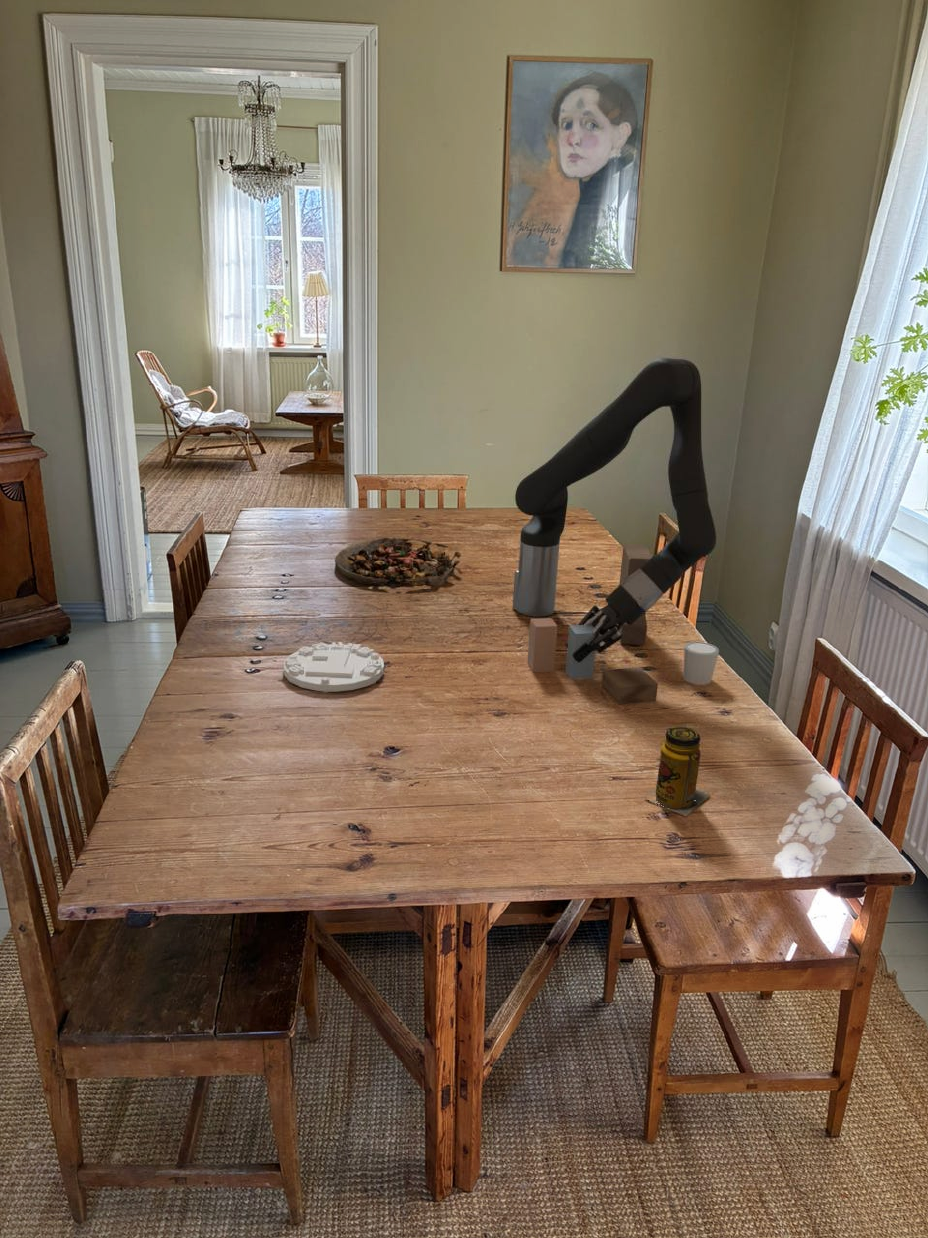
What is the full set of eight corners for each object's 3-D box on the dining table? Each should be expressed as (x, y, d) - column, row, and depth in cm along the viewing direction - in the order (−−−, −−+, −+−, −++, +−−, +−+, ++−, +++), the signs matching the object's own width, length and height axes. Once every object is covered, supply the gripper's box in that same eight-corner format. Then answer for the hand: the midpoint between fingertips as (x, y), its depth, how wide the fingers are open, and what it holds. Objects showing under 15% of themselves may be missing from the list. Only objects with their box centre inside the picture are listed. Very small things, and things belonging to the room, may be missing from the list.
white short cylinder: (715, 675, 195) (720, 644, 193) (712, 688, 189) (717, 656, 186) (682, 669, 197) (686, 639, 195) (678, 682, 191) (682, 651, 188)
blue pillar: (571, 679, 190) (575, 633, 187) (565, 670, 195) (569, 625, 191) (592, 678, 191) (597, 632, 188) (586, 669, 195) (590, 624, 192)
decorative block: (645, 646, 208) (655, 560, 201) (619, 644, 208) (628, 558, 201) (639, 627, 219) (648, 545, 211) (614, 626, 219) (623, 543, 212)
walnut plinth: (618, 706, 181) (620, 687, 179) (600, 688, 188) (602, 670, 186) (655, 702, 183) (658, 683, 181) (637, 685, 190) (639, 666, 188)
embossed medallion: (264, 683, 184) (264, 669, 183) (315, 647, 201) (315, 635, 200) (355, 703, 177) (355, 689, 176) (400, 665, 195) (400, 651, 194)
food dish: (484, 582, 248) (485, 554, 245) (374, 605, 231) (374, 575, 228) (414, 543, 275) (415, 517, 272) (311, 561, 257) (310, 534, 254)
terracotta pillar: (532, 672, 193) (535, 626, 189) (527, 663, 197) (530, 618, 194) (553, 671, 194) (557, 626, 190) (548, 662, 198) (551, 618, 194)
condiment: (644, 800, 149) (652, 733, 145) (670, 780, 155) (679, 715, 151) (685, 818, 145) (695, 749, 140) (710, 796, 151) (721, 730, 147)
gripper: (611, 573, 194) (550, 629, 196) (635, 596, 181) (569, 656, 183) (633, 596, 197) (573, 651, 199) (658, 621, 184) (593, 680, 186)
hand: (572, 653), depth 191 cm, fingers closed on blue pillar, 4 cm apart
